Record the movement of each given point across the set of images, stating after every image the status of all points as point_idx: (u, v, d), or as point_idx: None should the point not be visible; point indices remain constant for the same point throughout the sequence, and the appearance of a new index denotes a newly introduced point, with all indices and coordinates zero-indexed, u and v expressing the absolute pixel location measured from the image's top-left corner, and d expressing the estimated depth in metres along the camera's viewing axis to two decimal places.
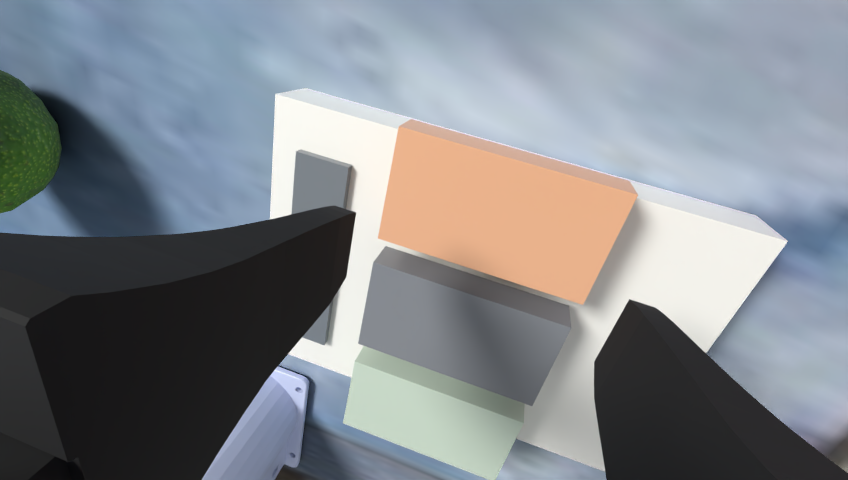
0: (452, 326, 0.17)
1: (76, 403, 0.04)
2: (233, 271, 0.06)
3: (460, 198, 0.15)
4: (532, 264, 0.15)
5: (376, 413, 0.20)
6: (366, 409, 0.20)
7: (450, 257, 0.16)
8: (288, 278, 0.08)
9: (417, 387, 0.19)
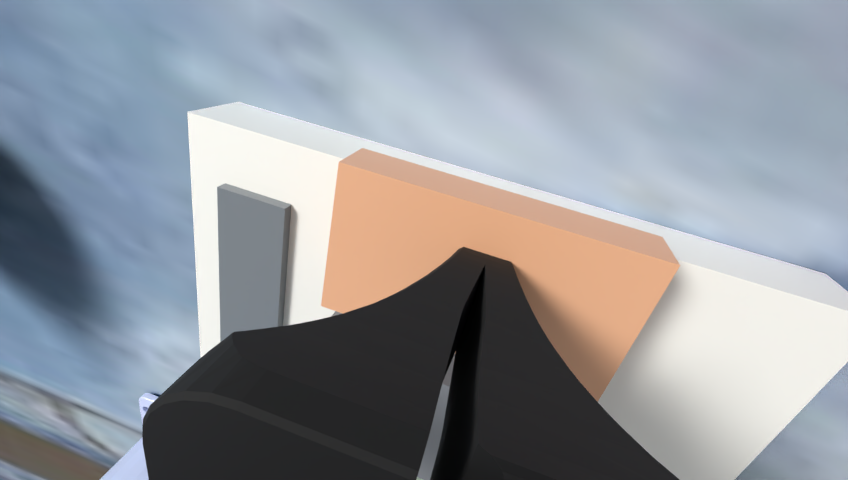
0: None
1: None
2: None
3: (427, 260, 0.10)
4: None
5: None
6: None
7: None
8: (455, 336, 0.08)
9: None
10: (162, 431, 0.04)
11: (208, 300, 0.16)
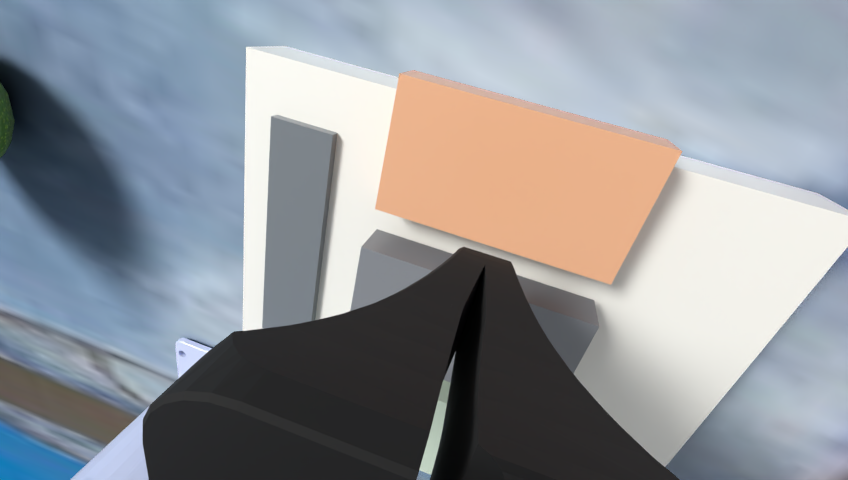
0: None
1: None
2: (451, 347, 0.06)
3: (470, 159, 0.13)
4: (553, 238, 0.13)
5: None
6: None
7: (458, 230, 0.14)
8: (454, 336, 0.08)
9: None
10: (162, 430, 0.04)
11: (254, 231, 0.18)
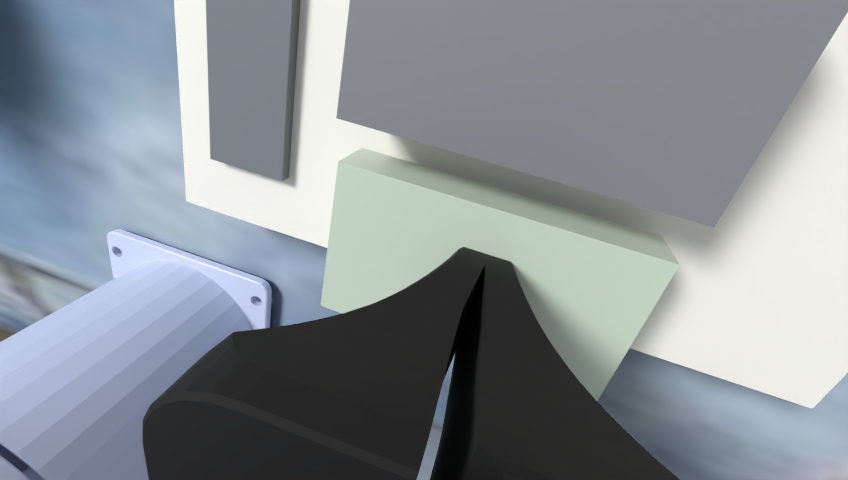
0: (549, 25, 0.07)
1: None
2: (451, 347, 0.06)
3: None
4: None
5: (379, 277, 0.11)
6: (361, 271, 0.11)
7: None
8: (454, 336, 0.08)
9: (459, 205, 0.10)
10: (162, 431, 0.04)
11: None
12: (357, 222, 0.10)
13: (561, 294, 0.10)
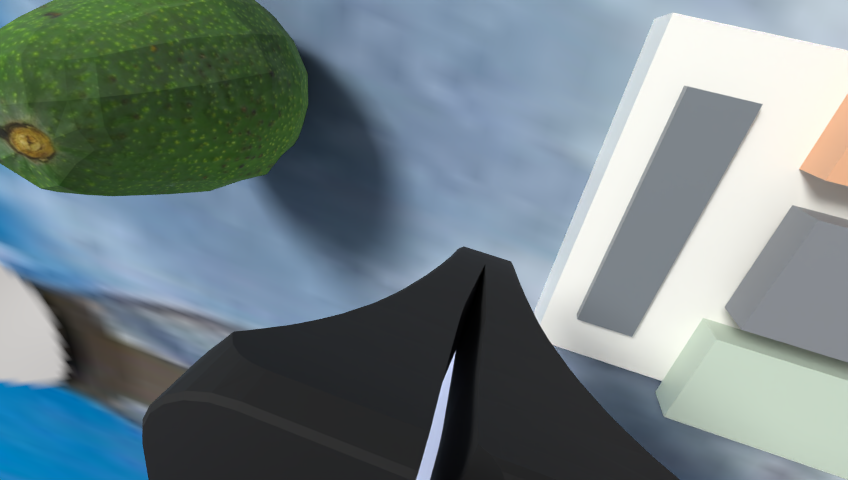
0: None
1: None
2: (451, 348, 0.06)
3: None
4: None
5: (719, 403, 0.17)
6: (707, 399, 0.17)
7: None
8: (454, 336, 0.08)
9: (798, 369, 0.16)
10: (161, 431, 0.04)
11: (600, 214, 0.17)
12: (716, 372, 0.17)
13: None
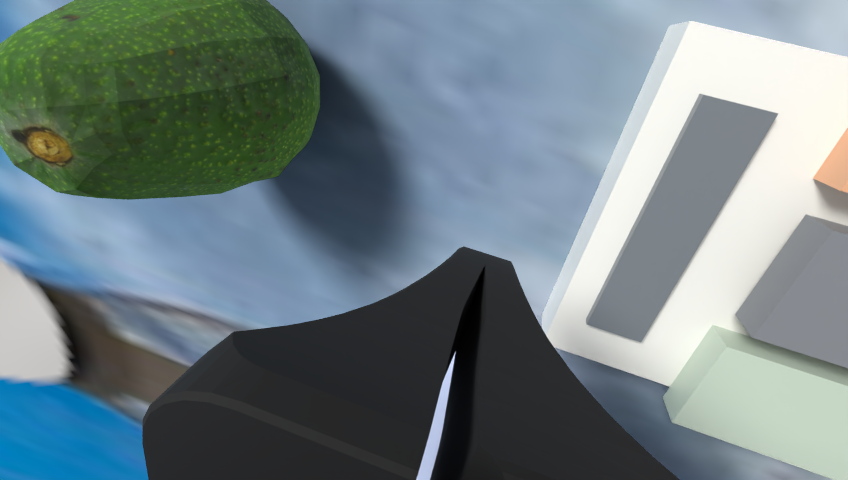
0: None
1: None
2: (451, 347, 0.06)
3: None
4: None
5: (728, 410, 0.17)
6: (715, 405, 0.17)
7: None
8: (454, 336, 0.08)
9: (807, 377, 0.16)
10: (161, 430, 0.04)
11: (612, 220, 0.17)
12: (725, 379, 0.17)
13: None
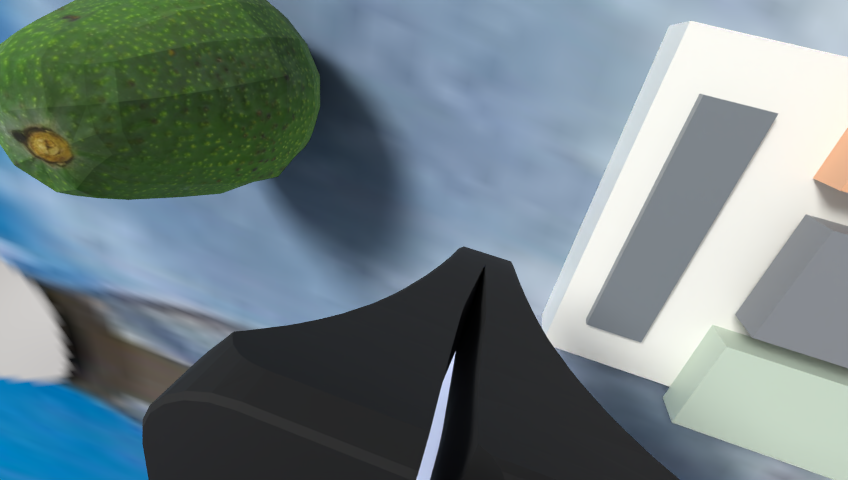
0: None
1: None
2: (451, 347, 0.06)
3: None
4: None
5: (728, 410, 0.17)
6: (715, 405, 0.17)
7: None
8: (454, 336, 0.08)
9: (807, 377, 0.16)
10: (161, 430, 0.04)
11: (612, 220, 0.17)
12: (725, 379, 0.17)
13: None
